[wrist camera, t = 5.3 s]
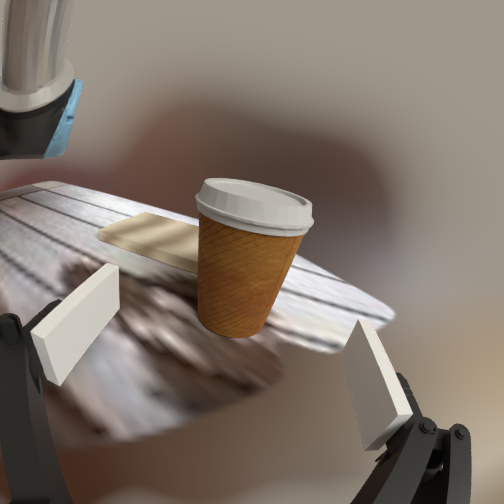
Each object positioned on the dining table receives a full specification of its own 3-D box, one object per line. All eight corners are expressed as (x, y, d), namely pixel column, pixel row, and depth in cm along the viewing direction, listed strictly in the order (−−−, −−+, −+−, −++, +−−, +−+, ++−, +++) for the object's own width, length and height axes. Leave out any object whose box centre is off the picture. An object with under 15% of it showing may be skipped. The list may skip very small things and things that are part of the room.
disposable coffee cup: (174, 289, 28) (190, 172, 24) (259, 291, 32) (285, 187, 27) (189, 354, 20) (212, 197, 16) (296, 346, 24) (342, 216, 19)
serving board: (98, 239, 34) (99, 229, 34) (144, 220, 45) (145, 212, 45) (225, 283, 32) (227, 271, 31) (249, 250, 43) (251, 241, 42)
